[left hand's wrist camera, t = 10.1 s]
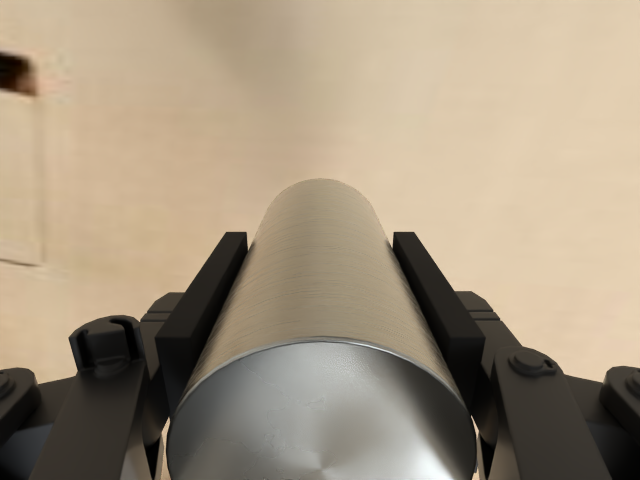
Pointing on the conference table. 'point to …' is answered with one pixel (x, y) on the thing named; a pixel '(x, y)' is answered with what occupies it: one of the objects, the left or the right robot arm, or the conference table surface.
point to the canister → (321, 360)
